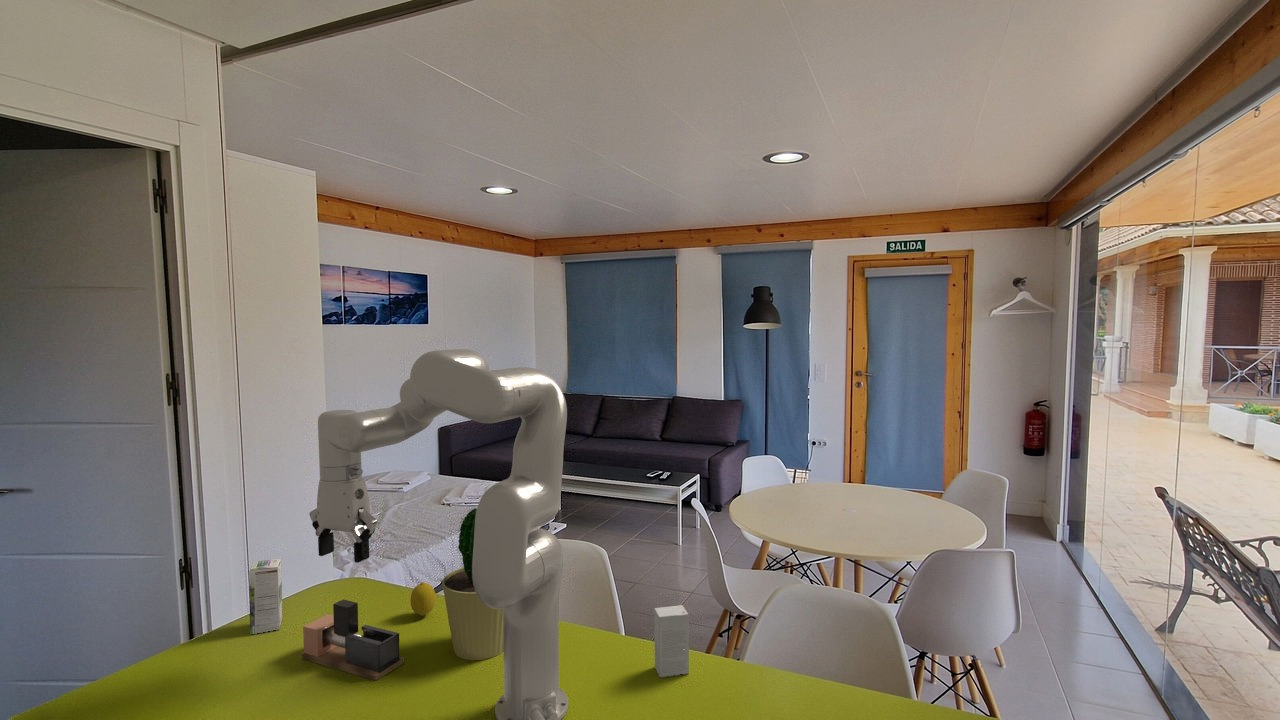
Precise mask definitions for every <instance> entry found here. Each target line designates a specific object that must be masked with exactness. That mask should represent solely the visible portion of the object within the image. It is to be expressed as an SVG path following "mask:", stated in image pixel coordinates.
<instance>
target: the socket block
mask: <svg viewBox="0 0 1280 720" xmlns="http://www.w3.org/2000/svg"><path fill="white" fill-rule="evenodd" d="M328 627H333V628H334V615H333V614H332V613H331V614H330V613H328V614H325V615H323V616H320V617H318V618H317V619H316V620H313V621H311V622H308V623H307V624H304V625H303V626H302V632H303V633H302V634H303V653H306V654H310V655H313V656H317V657H319V656H321V655H322V654H324V653H326V652H328V651H329V650H331V649H333V648H335V647H337V646H335V645H331V644H328V643H324V642H322V630H324V629H326V628H328Z"/></svg>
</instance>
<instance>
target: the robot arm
mask: <svg viewBox="0 0 1280 720" xmlns="http://www.w3.org/2000/svg"><path fill="white" fill-rule="evenodd" d="M409 373H410V374H409V375H410V377H409V378H408V379H407V380H405V381H404V382H403V383H402V384H401V387H400V389H399V399H400V402H398V403H396V404H394V405H392V406H390V407H385V408H377V409H376V408H375V409H372V410H364V411H360V412H357V411H356V410H353V409H337V410H335V409H334V410H328V411H324V412H322V413H320V414H319V416H318V419H317V432H318V434H317V435H318V437H317V438H318V439H317V440H318V460H319V462H318V463H319V481H318V488H317V498H316V508H315V509H313V510H311V511H309V517H310V520H311V522H312V523H311V524H312V525H311V526H312V527H313V528H314V530H315V536H316V537H317V546H318V548H317V549H318V556H319V557H323V556H326V555H329V554H331V553H334V551H335V539H334V532H333V531H339V532H343V533H344V532H346V533H351V535H352V537H353V538H354V540H355V542H353V560H354V563H361V562H363V561H365V560H368V559H369V558H370V539H372V535H374V533H375V531H376V530H375V529H376V527H377V524H378V519H377V518H376V517H375V516H373V515H372V514H371V507H370V505H371V504H370V498H369V497H370V496H369V492H368V487H367V483H366V479H365V478H363V472H364V470H363V469H362V453H363V452H367V451H371V450H375V449H379V448H383V447H387V446H393V445H396V444H399V443H402V442H405V441H406V440H408V439H410V438H412V437H413V436H415V435H416V434H417V435H418V434H419V433H420V432H422V431H424V430H425V429H427V428H428V427H430V425H431V423H432V422H434V421H433V420H434V419H435V418H436V417H438V416H439V415H441V414H443V413H445V412H446V411H448V412H451V413H452V414H455V415H459V416H460V417H463V418H465V419H468V420H471V421H473V422H476V423H481V424H494V423H499V422H504V421H509V420H513V419H516V418H520V419H521V423H520V426H519V429H518V431H517V434H516V437H515V440H514V443H513V447H512V464H511V472H510V474H509V476H508V477H507V478H506V479H503V480H501V481H499V482H497V483H495V484H493V485H492V486H490V487H488V489H486V491H484V493H483V494H482V496H481V498H480V500H479V503H478V505H477V508H476V509H477V511H476V517H475V530H474V546H473V563H472V578H473V585H474V588H475V591H476V594H477V595H478V597H479V599H480V600H481V601H482V602H483V603H484V604H485V605H486V606H488V607H490V608H493V609H504V615H503V640H504V652H503V694H502V695H501V696H500V697H499V698H498V700H497V701H496V703H495V707H494V708H495V709H494V713H495V714H494V715H495V719H496V720H562V719H563V718H564V717H566V716H565V715H566V714H567V712H568V709H569V698H568V695H567V694H566V692H565V691H564V690H563V689H561V688H560V643H559V642H560V638H559V636H560V634H559V633H560V629H559V628H560V627H559V624H560V592H561V584H562V577H563V570H564V551H563V547H562V545H561V542H560V541H559V538H557V537H556V535H555V534H554V533H552V532H551V531H549V530H547V529H544V528H542V527H543V526H545V525H546V524H548V523H549V522H551V521H552V520H553V519H554V518H555V517H556V515H557V514H558V512H559V511H560V510H559V509H560V506H561V497H562V496H561V494H562V479H563V469H564V468H563V467H564V449H565V448H564V447H565V437H566V430H567V421H568V419H567V418H568V407H567V402H566V397H565V395H564V393H563V390H562V388H561V386H560V385H559V384H558V382H557V381H556V380H555V379H554V378H553V377H552V376H551V375H549V374H548V373H547V372H544V371H543V370H541V369H537V368H532V367H528V366H527V367H526V366H524V367H522V366H520V367H518V366H517V367H511V368H501V369H495V370H490V367H489V363H488V362H487V359H486V358H485V357H484V356H483V355H481V354H480V353H478V352H477V351H475V350H471V349H466V348H458V349H457V348H455V349H441V350H439V349H438V350H436V349H435V350H431V351H428V352H425V353H424V354H422V355H421V356H419V357H418V358H417V359H416V360H415V361H414V363H413V364H412V367H411V369H410V372H409ZM359 531H360V532H361V534H360V532H359Z"/></svg>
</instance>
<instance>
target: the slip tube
mask: <svg viewBox="0 0 1280 720" xmlns="http://www.w3.org/2000/svg"><path fill="white" fill-rule="evenodd" d="M332 606H333V607H332V609H333V610H332V611H333V613H332V615H334V628H333V627H328V628H326V629H324V630H322V642H324V643H328V644H331V645H335V646H338V647H342V648H345V635H347V634H353V635H357V636H361V637H365V636H363V634H358V632H359V604H358V602H356V601H351V600H348V599H341V600H338V601H337V602H335V603H333V605H332Z"/></svg>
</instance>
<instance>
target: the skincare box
mask: <svg viewBox="0 0 1280 720" xmlns="http://www.w3.org/2000/svg"><path fill="white" fill-rule="evenodd" d="M653 619H654V620H653V626H654V667H655V669H656V672H657V675H658V677H659V678H660V677H661V678H667V676H668V677H675V676H681V675H680V674H683V675H687V674H688V673H689V674H690V657H689V656H690V655H689V654H690V643H689V642H690V637H689V635H690V628H689V624H690V623H689V613H688V611H687V610H686V609H685V607H684V605H682V604H681V605H673V606H670V605H669V606H661V607H654V608H653ZM683 649H685V650H683ZM689 674H688V675H689ZM674 675H675V676H674Z"/></svg>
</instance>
